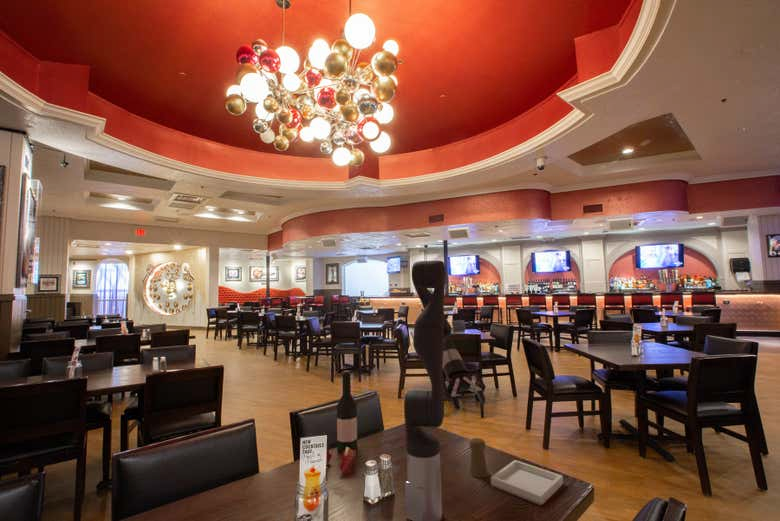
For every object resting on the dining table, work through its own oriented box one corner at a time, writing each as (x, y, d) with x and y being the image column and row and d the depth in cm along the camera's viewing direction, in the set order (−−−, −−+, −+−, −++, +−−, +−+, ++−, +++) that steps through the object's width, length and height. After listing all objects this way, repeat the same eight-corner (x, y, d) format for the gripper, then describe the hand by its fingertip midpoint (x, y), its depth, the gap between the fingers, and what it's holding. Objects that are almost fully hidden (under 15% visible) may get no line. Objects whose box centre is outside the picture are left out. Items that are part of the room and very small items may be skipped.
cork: (488, 478, 120) (486, 443, 121) (469, 477, 121) (468, 442, 122) (487, 469, 126) (485, 436, 127) (469, 468, 127) (467, 435, 128)
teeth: (354, 452, 124) (310, 453, 124) (355, 476, 124) (310, 478, 123) (357, 440, 135) (316, 442, 135) (358, 463, 134) (316, 464, 134)
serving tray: (541, 505, 104) (540, 496, 105) (490, 485, 116) (490, 477, 116) (563, 484, 116) (562, 475, 116) (515, 467, 127) (514, 459, 127)
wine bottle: (333, 452, 142) (332, 373, 145) (342, 443, 150) (341, 368, 153) (353, 454, 140) (351, 373, 142) (361, 445, 148) (359, 369, 150)
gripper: (435, 362, 128) (451, 404, 116) (473, 354, 131) (493, 395, 118) (433, 375, 133) (449, 417, 121) (470, 367, 135) (489, 407, 123)
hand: (471, 406), depth 119 cm, fingers open, 8 cm apart
